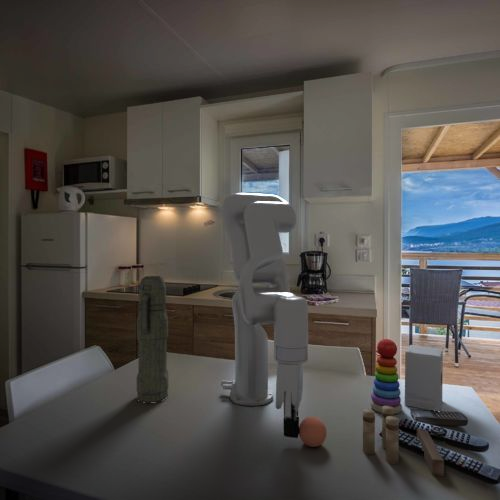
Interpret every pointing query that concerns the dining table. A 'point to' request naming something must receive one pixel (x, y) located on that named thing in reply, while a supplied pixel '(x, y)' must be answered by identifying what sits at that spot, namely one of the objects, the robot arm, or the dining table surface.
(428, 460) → the wall
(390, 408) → the pin
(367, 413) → the pin front
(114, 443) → the dining table surface
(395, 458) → the pin
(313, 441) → the ball
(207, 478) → the dining table surface
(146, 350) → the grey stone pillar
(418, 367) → the supplement box
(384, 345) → the stacking toy
